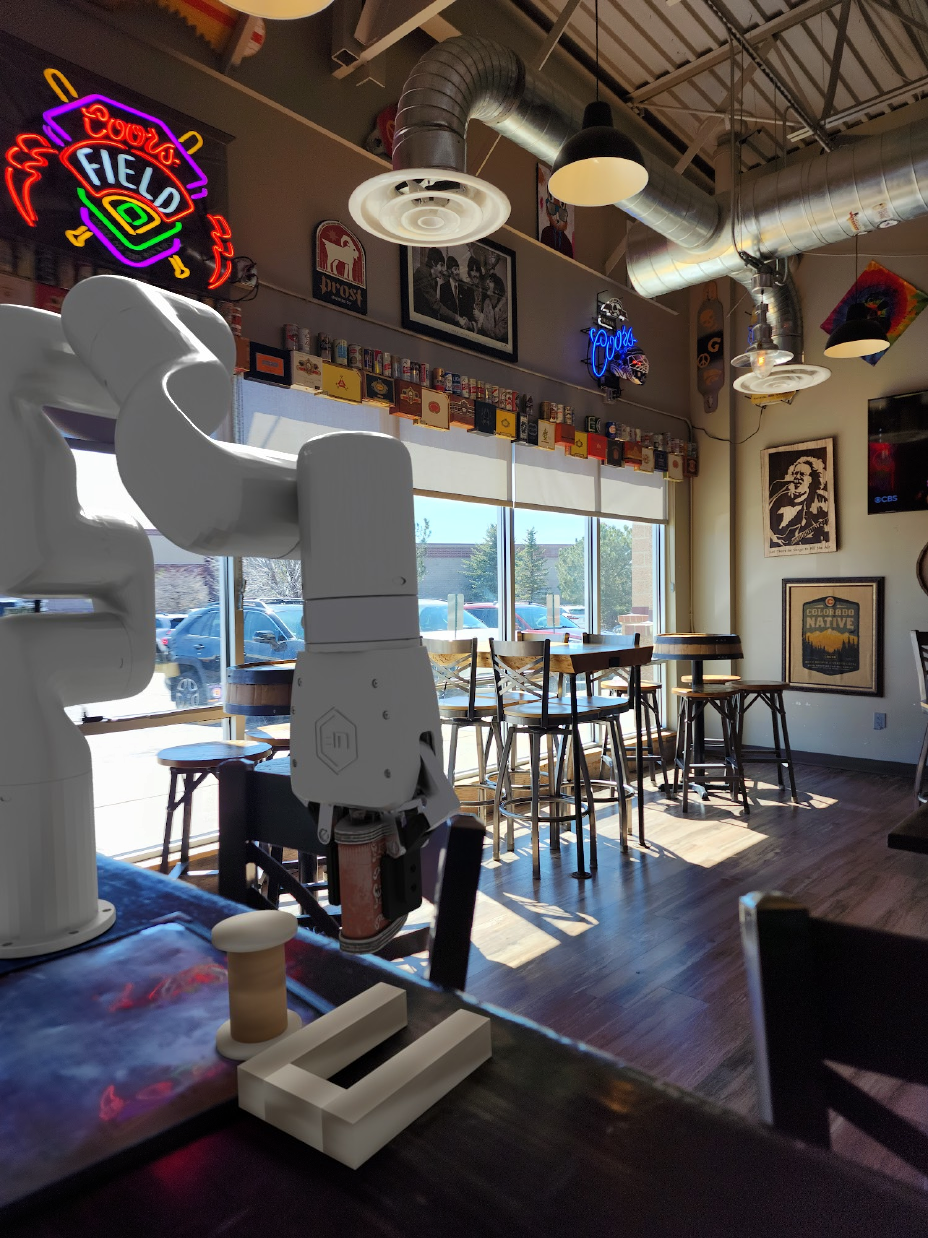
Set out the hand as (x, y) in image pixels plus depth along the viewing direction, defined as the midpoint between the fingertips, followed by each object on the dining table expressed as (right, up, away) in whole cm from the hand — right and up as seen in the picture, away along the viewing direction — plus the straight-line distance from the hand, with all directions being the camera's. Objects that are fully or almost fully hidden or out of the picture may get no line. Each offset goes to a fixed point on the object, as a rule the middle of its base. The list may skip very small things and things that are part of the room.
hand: (375, 903), depth 51 cm
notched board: (0, -11, -1) cm, 11 cm away
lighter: (0, -2, 0) cm, 2 cm away
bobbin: (-9, -12, +5) cm, 15 cm away
